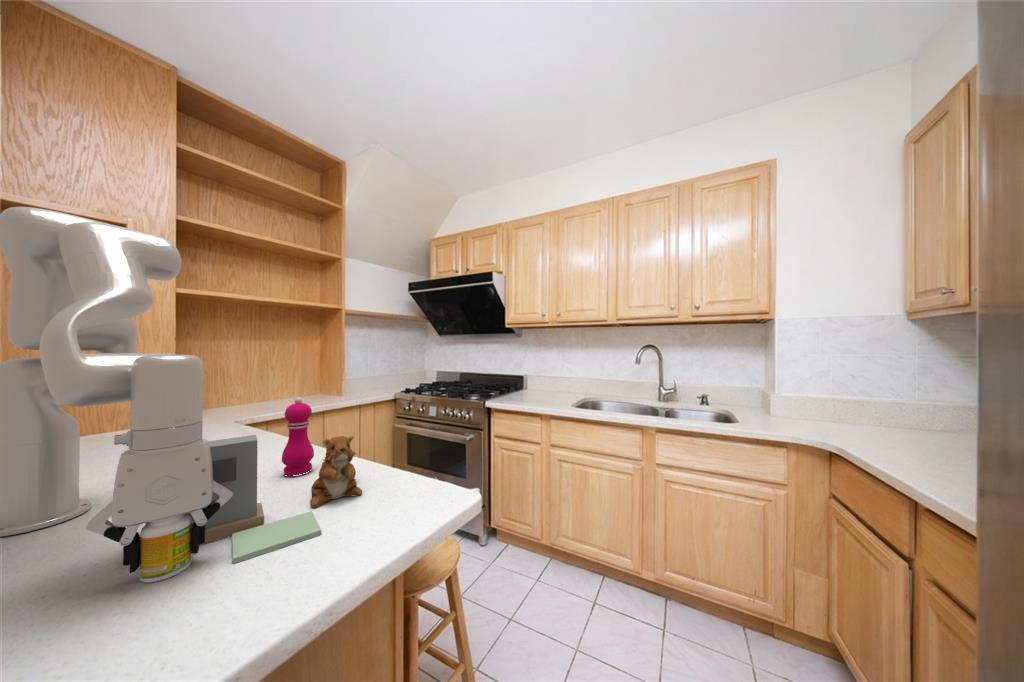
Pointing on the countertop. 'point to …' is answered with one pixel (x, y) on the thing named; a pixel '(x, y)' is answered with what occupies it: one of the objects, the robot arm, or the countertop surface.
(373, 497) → the countertop surface
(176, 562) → the supplement bottle
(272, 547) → the pad
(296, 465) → the pepper mill
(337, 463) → the stuffed squirrel
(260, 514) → the panel
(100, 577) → the countertop surface
